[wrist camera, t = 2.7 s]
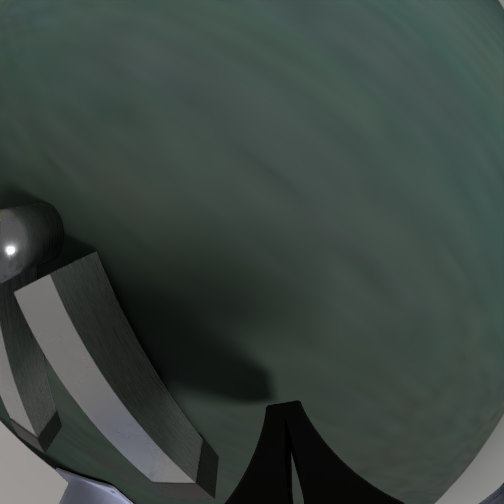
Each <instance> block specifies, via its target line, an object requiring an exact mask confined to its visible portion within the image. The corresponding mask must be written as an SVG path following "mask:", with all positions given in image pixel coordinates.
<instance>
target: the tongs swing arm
mask: <svg viewBox="0 0 504 504" xmlns="http://www.w3.org/2000/svg"><path fill="white" fill-rule="evenodd" d="M14 294H15V296H16V299H17V301H18V303H19V306H20V308H21V310H22V312H23V314H24V317H25V319H26V321H27V323H28V325H29V327H30V329H31V331H32V333H33V334H34V336H35V338H36V340H37V342H38V344H39V346H40V347H41V349H42V351H43V353H44V354H45V356H46V358H47V359H48V361H49V363H50V364H51V366H52V367H53V369H54V370H55V372H56V374H57V375H58V377H59V378H60V380H61V381H62V383H63V384H64V385H65V387H66V388H67V390H68V391H69V393H70V394H71V395H72V397H73V398H74V399H75V401H76V402H77V403H78V405H79V406H80V407H81V408H82V410H83V411H84V412H85V413H86V415H87V416H88V417H89V418H90V420H91V421H92V422H93V423H94V424H95V425H96V427H97V428H98V429H99V430H100V431H101V432H102V433H103V435H104V436H105V437H106V438H107V439H108V440H109V441H110V442H111V443H112V444H113V445H114V446H115V447H116V448H117V449H118V450H119V451H120V452H121V453H122V454H123V455H124V456H125V457H126V458H127V459H128V460H129V461H130V462H131V463H132V464H133V465H134V466H135V467H136V468H138V469H139V470H140V471H141V472H142V473H143V474H144V475H146V476H147V477H148V478H149V479H150V480H151V481H153V484H154V485H156V486H157V487H158V488H159V489H161V490H162V491H163V492H165V493H166V494H167V495H169V496H170V497H171V498H175V499H215V491H216V480H217V469H218V459H219V456H218V455H217V454H216V453H215V452H214V450H213V449H212V448H211V447H210V446H209V444H208V443H207V442H206V441H205V439H202V437H201V436H200V435H199V434H198V432H197V431H196V430H195V428H194V427H193V426H192V424H191V423H190V422H189V420H188V419H187V418H186V416H185V415H184V413H183V412H182V411H181V409H180V408H179V406H178V405H177V403H176V402H175V401H174V399H173V398H172V396H171V395H170V393H169V392H168V390H167V389H166V387H165V385H164V384H163V382H162V381H161V379H160V378H159V376H158V374H157V373H156V371H155V369H154V368H153V366H152V364H151V363H150V361H149V359H148V358H147V356H146V354H145V352H144V351H143V349H142V347H141V345H140V343H139V342H138V340H137V338H136V336H135V334H134V332H133V330H132V329H131V327H130V325H129V323H128V321H127V319H126V317H125V315H124V313H123V311H122V309H121V307H120V304H119V302H118V300H117V298H116V296H115V294H114V291H113V289H112V287H111V285H110V282H109V280H108V278H107V275H106V273H105V271H104V268H103V266H102V263H101V261H100V258H99V256H98V253H97V251H96V252H94V253H92V254H89V255H87V256H85V257H83V258H80V259H78V260H76V261H74V262H72V263H70V264H68V265H65V266H63V267H61V268H59V269H57V270H55V271H53V272H51V273H49V274H47V275H45V276H43V277H42V278H40V279H38V280H36V281H34V282H32V283H30V284H28V285H26V286H25V287H23V288H21V289H19V290H17V291H15V292H14Z"/></svg>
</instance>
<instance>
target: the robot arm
mask: <svg viewBox="0 0 504 504" xmlns="http://www.w3.org/2000/svg"><path fill="white" fill-rule="evenodd" d="M291 452H292V456H293V460H294V463H295V467H296V471H297V474H298V478H299V482H300V485H301V489H302V494H303V498H304V504H404V503H403V502H401V501H399V500H397V499H395V498H393V497H391V496H389V495H388V494H386V493H384V492H382V491H381V490H379V489H377V488H376V487H374V486H373V485H371V484H370V483H368V482H367V481H366V480H364V479H363V478H362V477H360V476H359V475H358V474H356V473H355V472H354V471H353V470H352V469H350V468H349V467H348V466H347V465H346V464H345V463H344V462H343V461H342V460H341V459H340V458H339V457H338V456H337V455H336V454H335V453H334V452H333V451H332V450H331V449H330V447H329V446H328V445H327V444H326V443H325V441H324V440H323V439H322V438H321V436H320V435H319V433H318V432H317V431H316V429H315V428H314V426H313V425H312V423H311V422H310V420H309V418H308V417H307V415H306V413H305V411H304V409H303V407H302V404H301V402H300V401H298V400H297V401H291V402H286V403H280V404H274V405H268V406H267V407H266V414H265V420H264V424H263V428H262V432H261V435H260V438H259V441H258V444H257V447H256V450H255V452H254V454H253V457H252V459H251V461H250V464H249V466H248V468H247V470H246V472H245V473H244V475H243V477H242V479H241V481H240V482H239V484H238V485H237V487H236V488H235V490H234V492H233V493H232V494H231V496H230V497H229V499H228V500H227V501H226V503H225V504H293V494H292V462H291ZM56 471H57V472H58V473H59V474H60V475H61V476H62V477H63V478H64V479H65V480H66V481H67V482H68V483H69V484H68V486H67V488H66V490H65V492H64V494H63V496H62V499H61V501H60V503H59V504H134V503H132V502H131V501H130V500H129V499H128V498H126V497H125V496H124V495H123V494H122V493H120V492H119V491H118V490H117V489H116V488H115V487H113V486H112V485H109V484H106V483H102V482H98V481H95V480H92V479H88V478H85V477H82V476H79V475H76V474H73V473H70V472H68V471H65V470H62V469H60V468H56ZM479 504H504V483H503V484H502V486H501V487H500V488H499V489H497V490H496V491H495V492H494V493H493V494H491V495H490V496H489V497H487V498H486V499H485V500H483V501H482V502H481V503H479Z"/></svg>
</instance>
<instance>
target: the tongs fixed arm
mask: <svg viewBox="0 0 504 504" xmlns="http://www.w3.org/2000/svg"><path fill="white" fill-rule="evenodd" d="M63 240H64V230H63V224H62V220H61V218H60V215H59V213H58V212H57V210H56V209H55V208H54V207H53V206H52V205H51V204H49V203H45V202H42V203H35V204H28V205H22V206H16V207H10V208H4V209H0V395H1V397H2V400H3V402H4V404H5V407H6V409H7V411H8V413H9V415H10V417H11V419H10V420H11V422H12V424H13V426H14V428H15V430H16V432H17V434H18V435H19V436H20V437H21V438H23V439H24V440H25V441H27V442H28V443H30V444H31V445H33V446H34V447H35V448H37V449H38V450H40V451H42V452H43V453H45V452H46V451H47V449H48V447H49V446H50V444H51V443H52V441H53V440H54V438H55V436H56V435H57V433H58V432H59V430H60V429H61V427H62V425H61V422H60V419H59V416H58V413H57V411H56V407H55V404H54V400H53V396H52V392H51V388H50V384H49V380H48V375H47V370H46V365H45V359H44V354H43V351H42V349H41V347H40V346H39V344H38V342H37V340H36V338H35V336H34V334H33V333H32V331H31V329H30V327H29V325H28V323H27V321H26V319H25V317H24V314H23V312H22V310H21V308H20V306H19V303H18V301H17V299H16V296H15V294H14V292H15V291H17V290H19V289H21V288H23V287H25V286H26V285H28V284H30V283H32V282H34V281H36V280H37V266H39V265H41V264H43V263H45V262H47V261H50V260H52V259H54V258H55V257H57V255H58V254H59V253H60V251H61V248H62V245H63Z"/></svg>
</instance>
